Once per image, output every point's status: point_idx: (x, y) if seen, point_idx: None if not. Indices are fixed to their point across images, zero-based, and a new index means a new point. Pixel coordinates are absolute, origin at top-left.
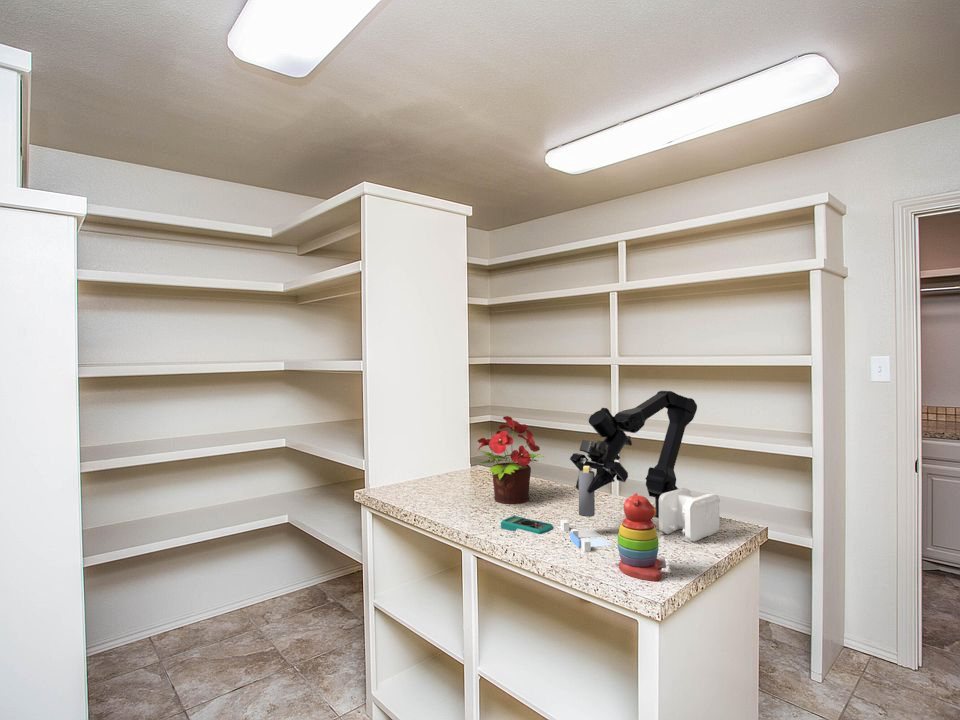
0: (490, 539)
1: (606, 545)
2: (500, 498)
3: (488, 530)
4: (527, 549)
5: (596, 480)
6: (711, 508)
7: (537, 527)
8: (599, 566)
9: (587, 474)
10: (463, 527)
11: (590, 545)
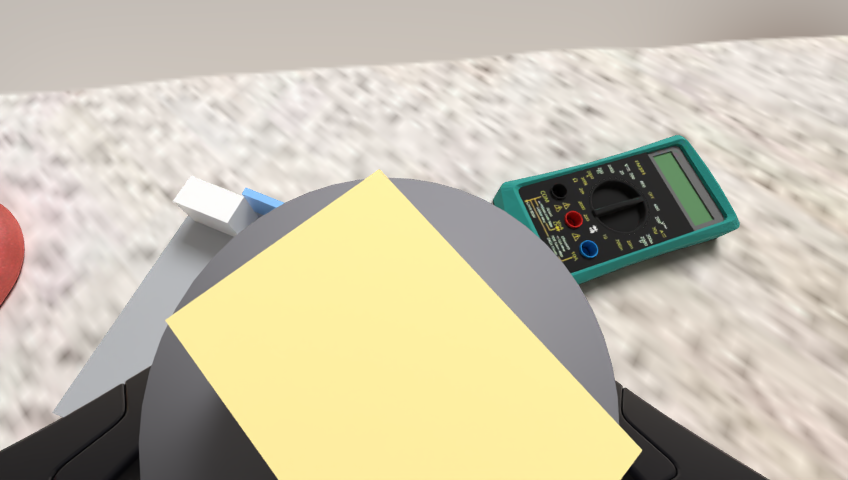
0: (564, 62)
1: None
2: None
3: (655, 105)
4: (413, 92)
5: (93, 414)
6: None
7: (545, 203)
8: (100, 175)
9: (231, 260)
10: (715, 63)
11: (181, 208)
